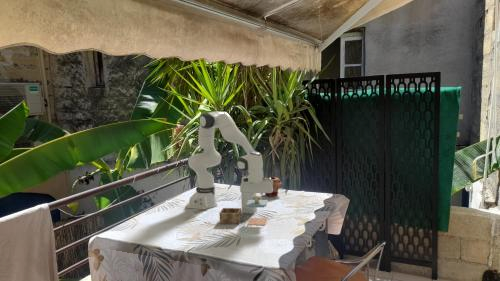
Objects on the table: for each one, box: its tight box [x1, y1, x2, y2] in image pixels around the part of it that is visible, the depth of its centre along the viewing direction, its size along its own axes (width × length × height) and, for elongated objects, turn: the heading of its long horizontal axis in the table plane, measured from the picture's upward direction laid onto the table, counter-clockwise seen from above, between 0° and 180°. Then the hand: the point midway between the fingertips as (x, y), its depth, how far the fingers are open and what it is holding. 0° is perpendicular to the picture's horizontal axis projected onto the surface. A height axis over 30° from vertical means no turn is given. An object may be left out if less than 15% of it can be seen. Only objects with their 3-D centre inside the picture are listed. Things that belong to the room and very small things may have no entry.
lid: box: [246, 194, 268, 208], centre depth 218 cm, size 12×10×6 cm
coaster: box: [247, 217, 268, 226], centre depth 220 cm, size 11×11×1 cm
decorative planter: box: [264, 176, 283, 197], centre depth 276 cm, size 20×12×14 cm, turn 94°
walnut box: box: [218, 207, 243, 225], centre depth 222 cm, size 12×10×7 cm
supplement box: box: [240, 192, 258, 215], centre depth 239 cm, size 9×9×15 cm
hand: (256, 199), depth 218 cm, fingers closed on lid, 3 cm apart
